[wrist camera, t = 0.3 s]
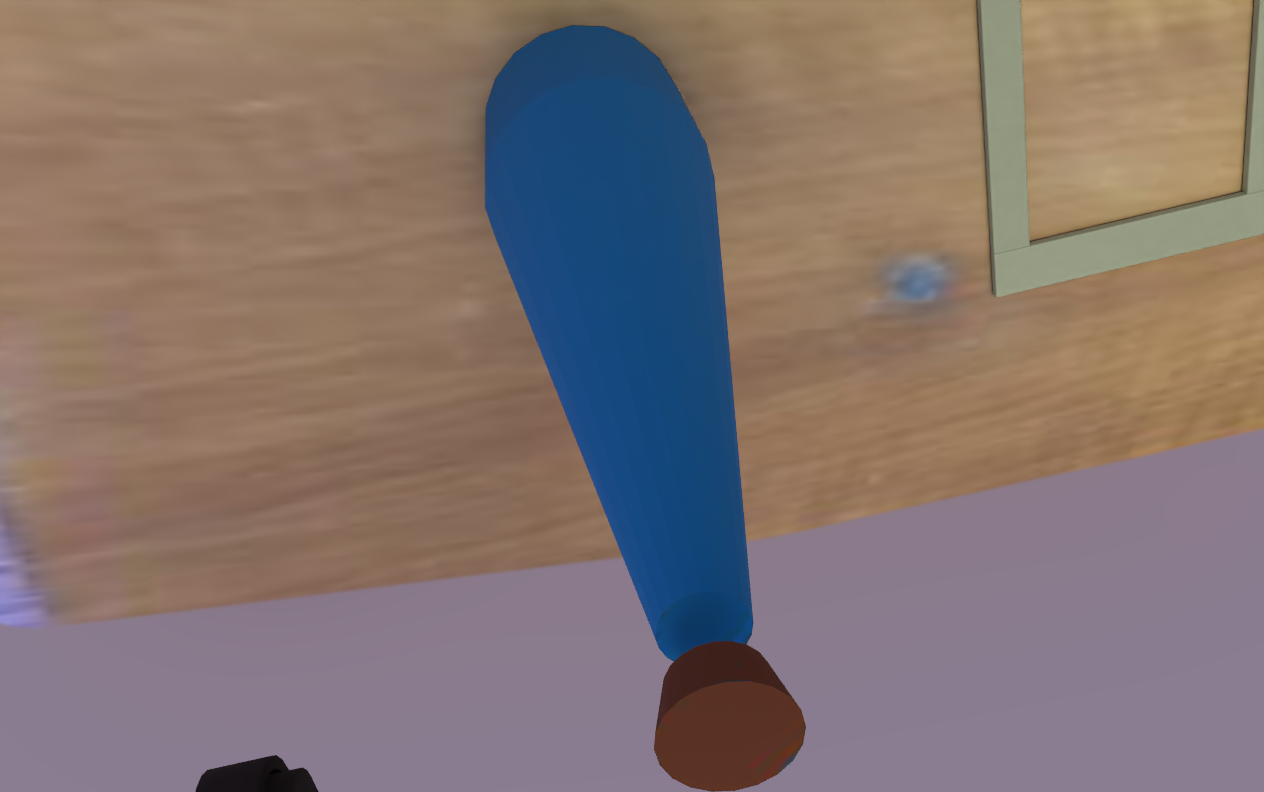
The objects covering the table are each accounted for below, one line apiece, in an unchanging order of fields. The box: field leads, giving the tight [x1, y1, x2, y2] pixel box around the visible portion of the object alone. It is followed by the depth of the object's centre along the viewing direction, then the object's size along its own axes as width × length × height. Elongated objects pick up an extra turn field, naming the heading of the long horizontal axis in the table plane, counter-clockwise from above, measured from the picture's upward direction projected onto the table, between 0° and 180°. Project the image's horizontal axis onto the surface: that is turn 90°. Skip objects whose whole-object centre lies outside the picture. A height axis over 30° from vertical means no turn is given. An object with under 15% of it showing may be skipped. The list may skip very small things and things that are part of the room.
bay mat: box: [977, 0, 1264, 297], centre depth 44 cm, size 16×12×1 cm
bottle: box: [485, 25, 806, 791], centre depth 30 cm, size 7×7×30 cm
